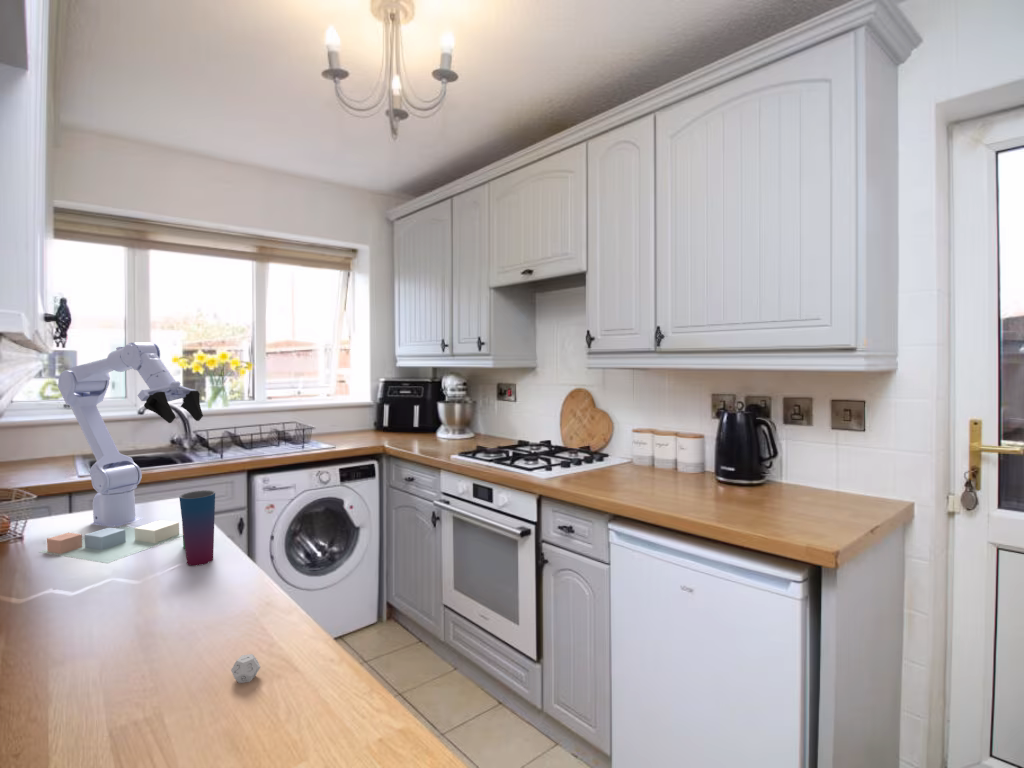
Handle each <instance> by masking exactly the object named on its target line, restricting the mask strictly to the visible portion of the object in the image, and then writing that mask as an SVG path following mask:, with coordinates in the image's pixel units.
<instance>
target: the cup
mask: <svg viewBox="0 0 1024 768" xmlns="http://www.w3.org/2000/svg"><path fill="white" fill-rule="evenodd" d="M179 505H180V516H181V523H182V524H181V525H183V528H182V534H183V533H184V542H185V549H184V550H185V557H186V558H185V560H186V564H187V565H188V566H190V567H191V566H194V567H196V565H197V566H202V564H203V565H207V564H209V563H210V562H212V561H214V547H215V519H216V518H215V516H216V515H215V514H216V513H215V512H216V491H215V490H211V489H207V490H195V491H194V490H193V491H189V492H185V493H182V494H180V495H179ZM208 562H209V563H208Z"/></svg>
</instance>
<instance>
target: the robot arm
mask: <svg viewBox="0 0 1024 768" xmlns="http://www.w3.org/2000/svg"><path fill="white" fill-rule="evenodd" d="M132 369H133V370H135V371H137V372H138V373H139V375H140V377H141V378H142V380H143V381H144V383H145V384H146V385H147V387H148V389H141V390H140V392H139V393H138V394H137V396H138V398H139V400H140V401H141V402H144V404H143V407H144V408H145V410H148V411H151V412H153V413H154V414H156V415H158V416H159V417H160V418H162V419H163V420H164V421H166V422H167V423H168V424H172V423H173V422H174V420H175V419H176V414H175V412H174V411H173V409H172V408H171V406H170V404H169V402H171V401H176V400H177V401H178V400H180V399H183V402H182V404H180V408H183V409H184V410H185V411H186V412H188V414H190V416H191V418H192V419H194V421H196V422H200V420H202V418H203V417H204V414H203V411H202V409H201V402H200V396H201V394H200V392H199V391H198V390H196V389H195V388H194V389H193V388H190V387H186V386H184V385H181V382H180V381H176V379H175V378H174V377H173V375H172V374H171V372H170V370H168V367H166V366H165V363H164V362H163V361H162V359H161V350H160V348H159V346H158V344H156V343H154V342H129V343H127V344H126V345H124V346H118V347H116V350H114V351H111V352H110V353H109V354H108V355H107V358H103V359H99V360H95V361H92V362H91V361H90V362H87V363H84V364H80V365H75V366H72V367H70V368H69V370H68V369H65V370H63V371H62V372H60V374H59V376H58V383H57V388H58V390H59V391H60V394H61V396H62V398H63V400H64V402H65V404H67V405H69V406H70V408H71V411H72V413H73V415H74V417H75V420H76V421H77V423H78V425H79V428H80V429H81V431H82V433H83V436H84V438H85V439H86V442H87V445H89V448H90V450H91V452H92V454H93V457H94V458H95V460H96V461H95V462H94V463H93V464H92V466H90V469H89V475H90V479H91V485H92V488H93V489H94V490H95V491H96V494H95V495H94V497H93V500H92V516H93V522H91V523H90V525H94V526H95V525H96V526H102V527H108V528H118V527H121V526H123V525H128V524H130V523H134V522H137V521H140V520H143V519H144V517H138V516H136V502H135V501H136V499H135V490H136V489H138V485H139V484H140V483H141V481H142V477H143V472H142V469H141V467H140V466H139V465H138V464H137V463H135V462H134V459H133V457H131V456H128V455H125V454H123V453H121V452H120V451H119V449H118V447H117V445H116V444H115V441H114V439H113V436H112V435H111V433H110V432H109V429H108V427H107V425H106V423H105V421H104V419H103V417H102V415H101V412H100V411H99V409H98V407H97V405H99V404H100V403H101V402H103V401H104V399H105V396H106V393H107V390H108V388H109V385H110V380H111V377H110V373H111V372H113V371H115V372H118V373H121V372H125V371H126V372H127V371H130V370H132Z"/></svg>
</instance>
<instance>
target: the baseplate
mask: <svg viewBox="0 0 1024 768" xmlns="http://www.w3.org/2000/svg"><path fill="white" fill-rule="evenodd" d="M115 528H116V529H124V530H125V536H126V542H124V543H121V544H118V545H115V546H112V547H109V548H106V549H104V550H99V549H93V548H86V547H85V537H82V547H81V548H78V549H74V550H71V551H68V552H65V553H62V554H59V553H53V552H47V549H44V550H40V551H39V553H42V554H49V555H54V556H59V557H66V558H74V559H79V560H84V561H85V560H86V561H91V562H97V563H102V564H103V563H104V564H110V563H112V562H115V561H118V560H120V559H123V558H126V557H129V556H132V555H134V554H137V553H139V552H142V551H145V550H148V549H151V548H153V547H157V546H158V545H162V544H164V543H167V542H170V541H172V540H173V541H174V540H175V539H177V538H181V537H183V533H179V535H176V536H173V537H170V538H168V539H165V540H162V541H159V542H157V543H151V542H144V541H137V540H135V531H134V528H135V527H130V526H123V525H121V526H118V527H115Z"/></svg>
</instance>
